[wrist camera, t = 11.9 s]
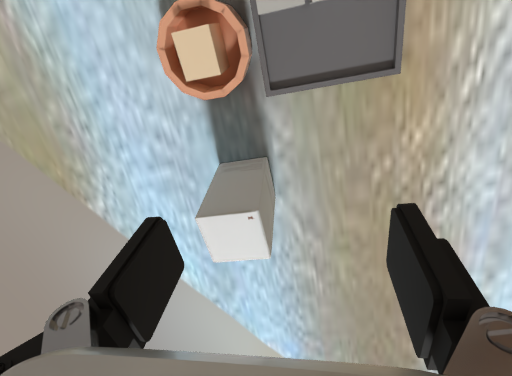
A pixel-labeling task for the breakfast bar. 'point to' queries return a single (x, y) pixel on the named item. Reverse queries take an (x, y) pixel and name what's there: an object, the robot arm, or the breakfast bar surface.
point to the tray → (329, 43)
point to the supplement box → (239, 211)
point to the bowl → (235, 39)
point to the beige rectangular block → (201, 51)
